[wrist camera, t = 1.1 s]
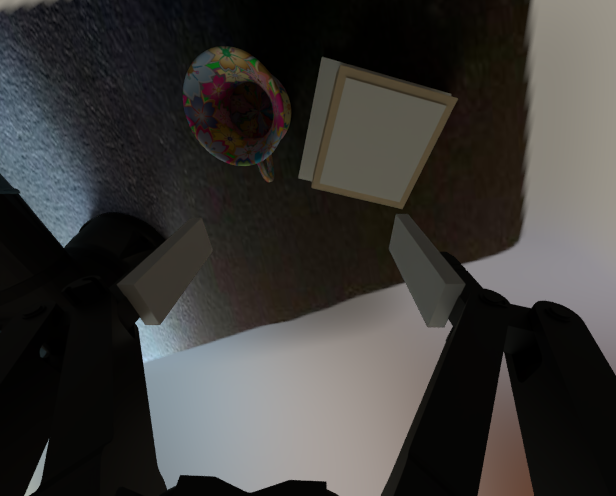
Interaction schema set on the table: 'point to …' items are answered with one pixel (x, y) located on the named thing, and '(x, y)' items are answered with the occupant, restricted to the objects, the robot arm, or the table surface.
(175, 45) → the table surface
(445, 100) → the cream stepped pedestal
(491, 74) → the table surface
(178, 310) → the table surface
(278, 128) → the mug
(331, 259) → the table surface
